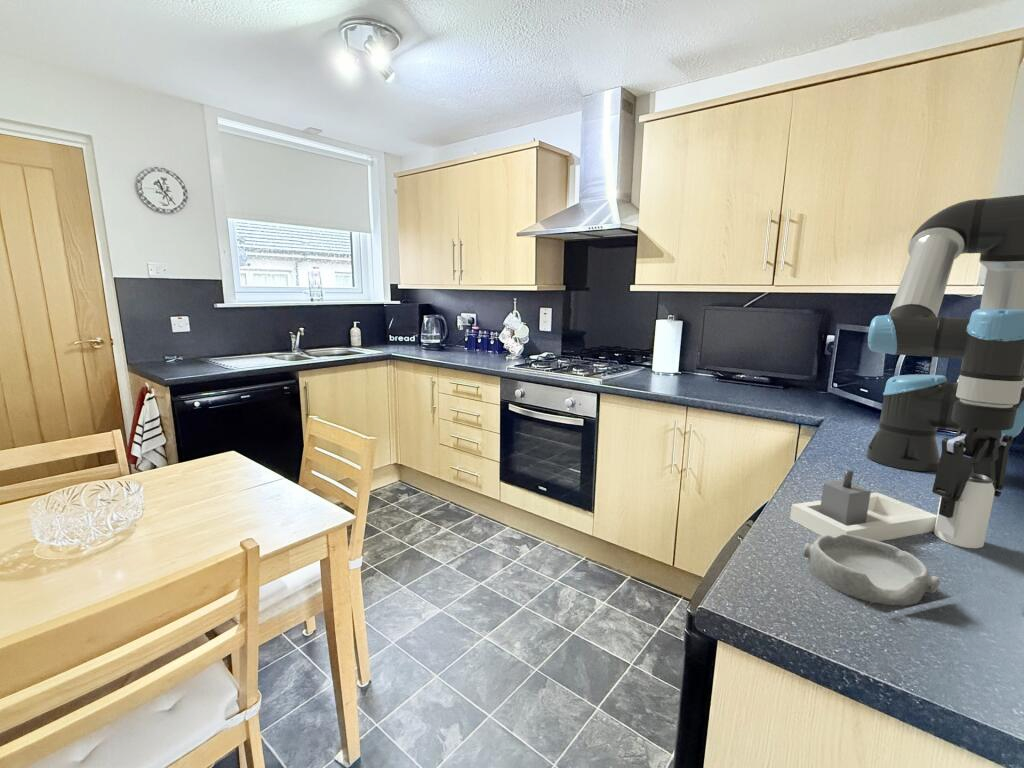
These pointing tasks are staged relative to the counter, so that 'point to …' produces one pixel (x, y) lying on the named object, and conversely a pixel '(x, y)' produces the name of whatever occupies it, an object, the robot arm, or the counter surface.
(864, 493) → the seated block
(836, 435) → the counter surface
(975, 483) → the can
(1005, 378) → the robot arm
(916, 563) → the dish
